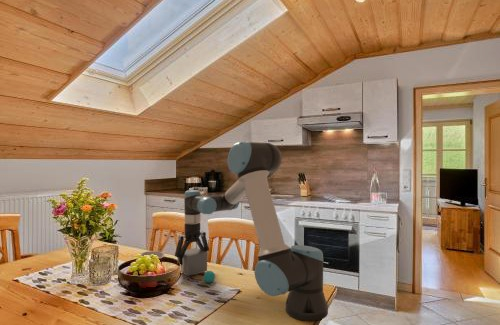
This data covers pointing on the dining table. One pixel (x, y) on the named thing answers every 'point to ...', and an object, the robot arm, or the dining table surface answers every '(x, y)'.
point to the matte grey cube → (194, 261)
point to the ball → (209, 276)
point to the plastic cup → (154, 254)
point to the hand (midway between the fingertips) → (192, 268)
